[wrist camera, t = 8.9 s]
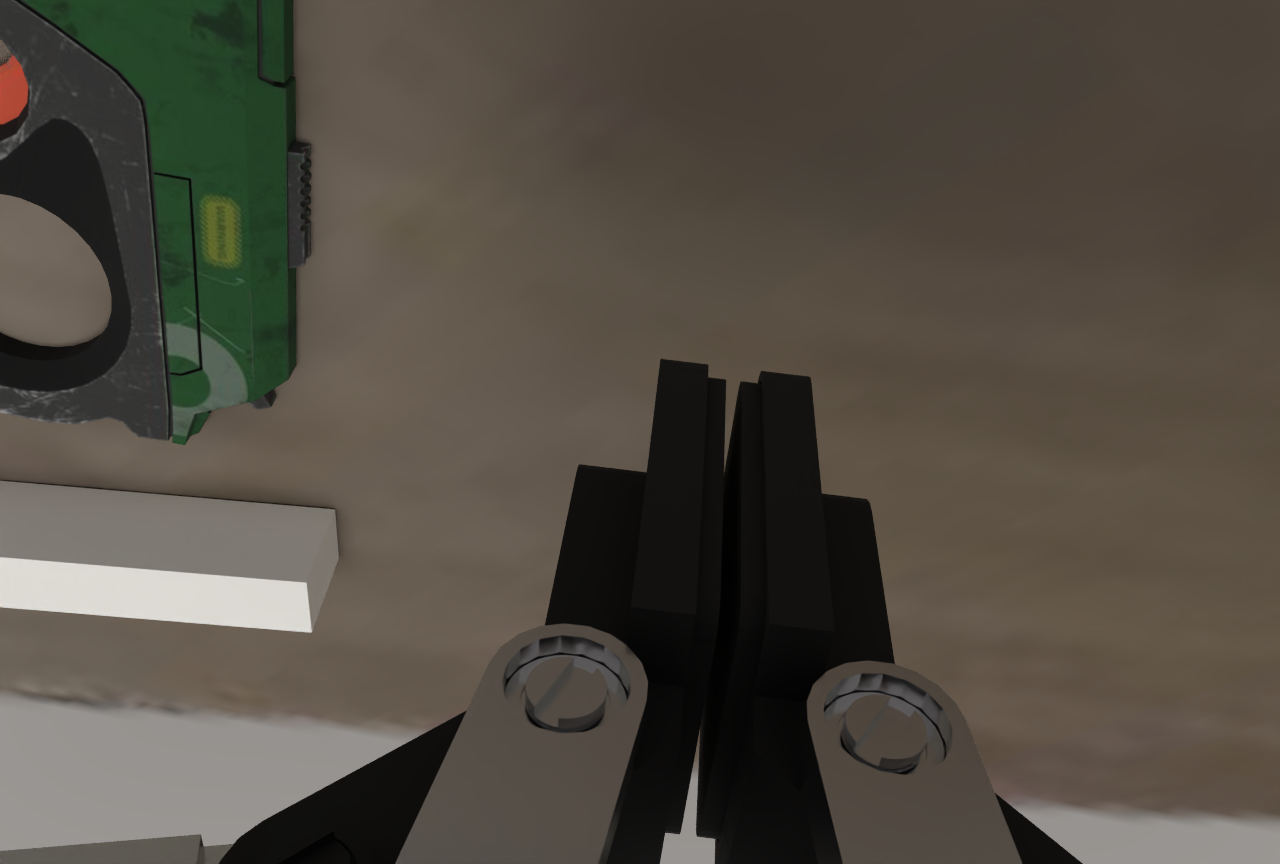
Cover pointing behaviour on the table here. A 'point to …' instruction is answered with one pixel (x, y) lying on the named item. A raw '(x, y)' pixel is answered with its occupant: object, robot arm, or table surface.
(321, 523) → the white angled bar
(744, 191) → the table surface
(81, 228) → the gun
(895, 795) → the robot arm
